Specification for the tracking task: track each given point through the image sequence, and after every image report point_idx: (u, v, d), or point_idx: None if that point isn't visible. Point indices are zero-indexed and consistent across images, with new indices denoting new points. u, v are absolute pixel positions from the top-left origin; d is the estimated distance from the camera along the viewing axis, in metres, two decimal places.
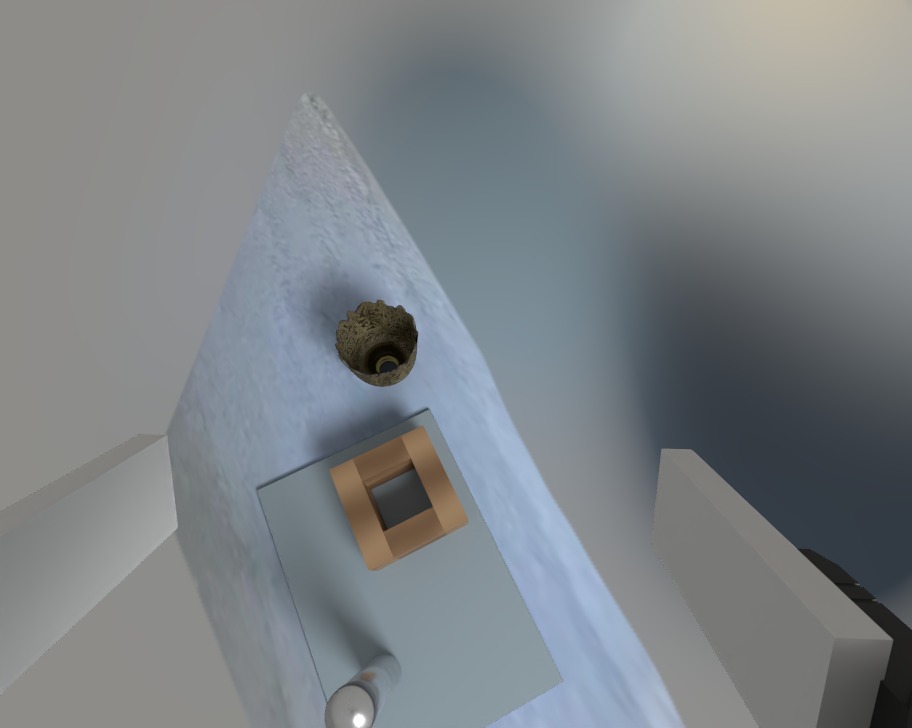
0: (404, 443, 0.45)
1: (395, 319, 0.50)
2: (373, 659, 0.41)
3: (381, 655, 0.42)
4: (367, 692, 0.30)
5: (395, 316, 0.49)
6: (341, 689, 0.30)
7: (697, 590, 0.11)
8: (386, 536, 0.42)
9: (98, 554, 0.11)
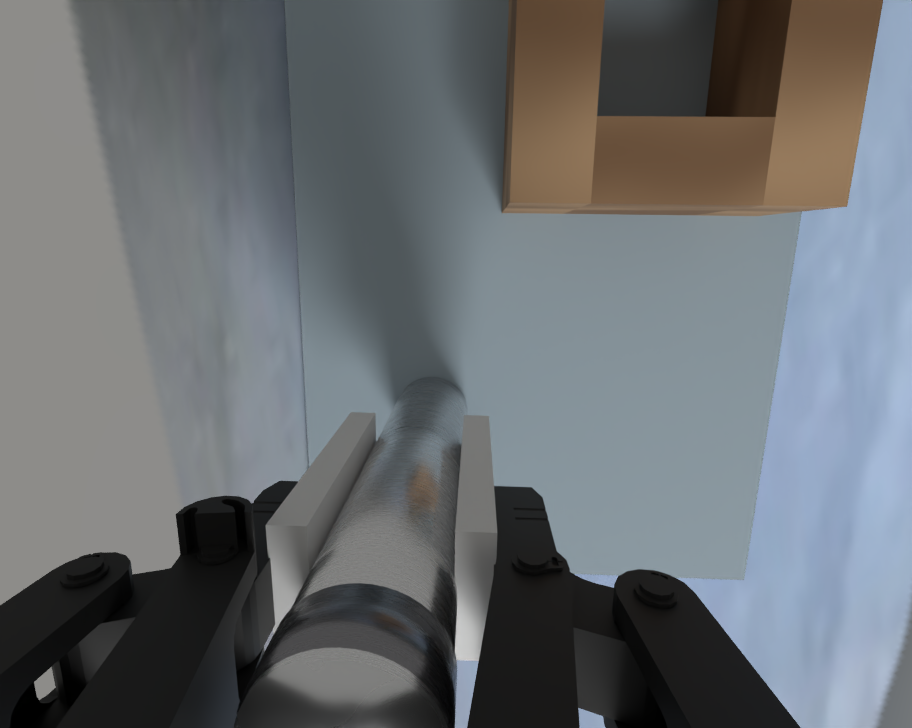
0: None
1: None
2: (426, 393, 0.18)
3: (442, 386, 0.19)
4: (443, 698, 0.07)
5: None
6: (340, 661, 0.06)
7: None
8: (601, 133, 0.14)
9: None
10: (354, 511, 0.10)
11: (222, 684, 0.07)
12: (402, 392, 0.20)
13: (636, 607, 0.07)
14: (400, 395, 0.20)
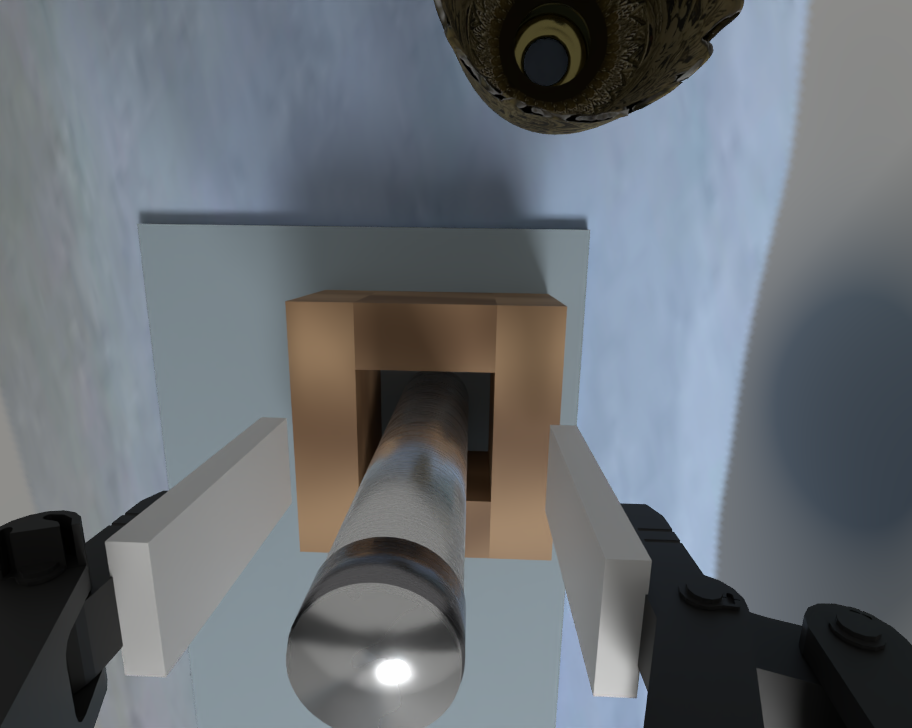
0: (497, 329, 0.16)
1: None
2: (431, 383, 0.19)
3: (445, 376, 0.20)
4: (456, 625, 0.08)
5: None
6: (374, 592, 0.08)
7: (561, 543, 0.12)
8: None
9: (248, 519, 0.13)
10: (374, 482, 0.12)
11: (54, 703, 0.07)
12: (408, 382, 0.21)
13: (832, 643, 0.07)
14: (406, 385, 0.21)
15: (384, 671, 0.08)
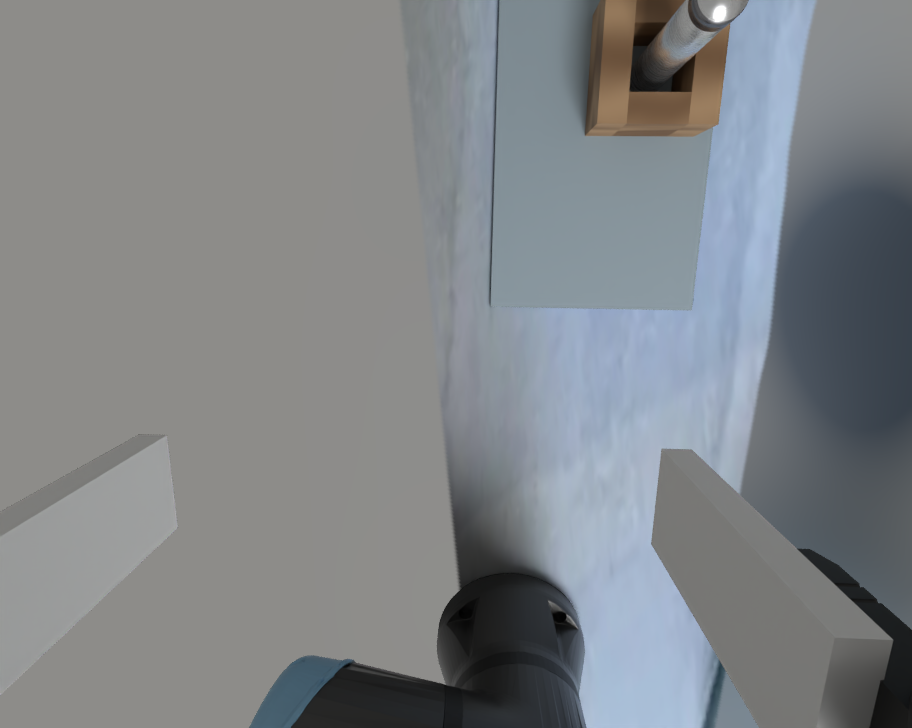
0: None
1: None
2: None
3: None
4: None
5: None
6: None
7: (697, 590, 0.11)
8: (630, 98, 0.38)
9: (98, 554, 0.11)
10: None
11: None
12: None
13: None
14: (633, 64, 0.41)
15: None
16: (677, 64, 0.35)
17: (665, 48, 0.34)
